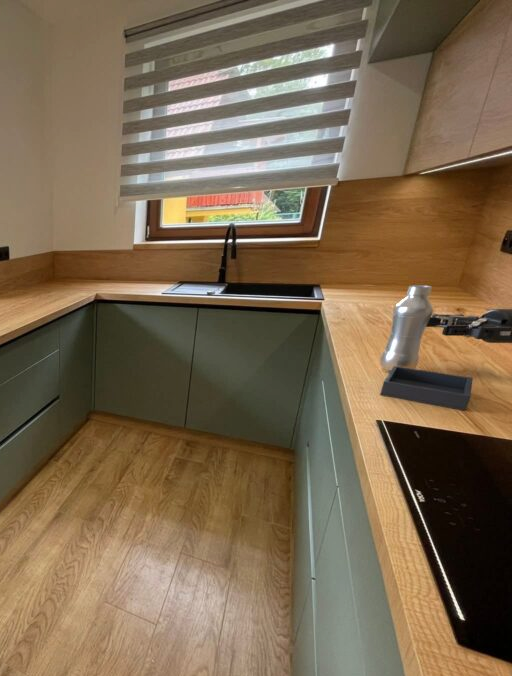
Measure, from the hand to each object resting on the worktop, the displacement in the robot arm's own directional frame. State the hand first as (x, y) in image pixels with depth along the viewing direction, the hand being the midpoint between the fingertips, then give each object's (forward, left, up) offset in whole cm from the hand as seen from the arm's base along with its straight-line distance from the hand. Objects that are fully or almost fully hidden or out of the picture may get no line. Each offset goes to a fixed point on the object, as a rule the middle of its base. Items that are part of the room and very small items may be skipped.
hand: (429, 326), depth 97 cm
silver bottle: (+2, +4, -11) cm, 12 cm away
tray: (-9, +14, -11) cm, 20 cm away
